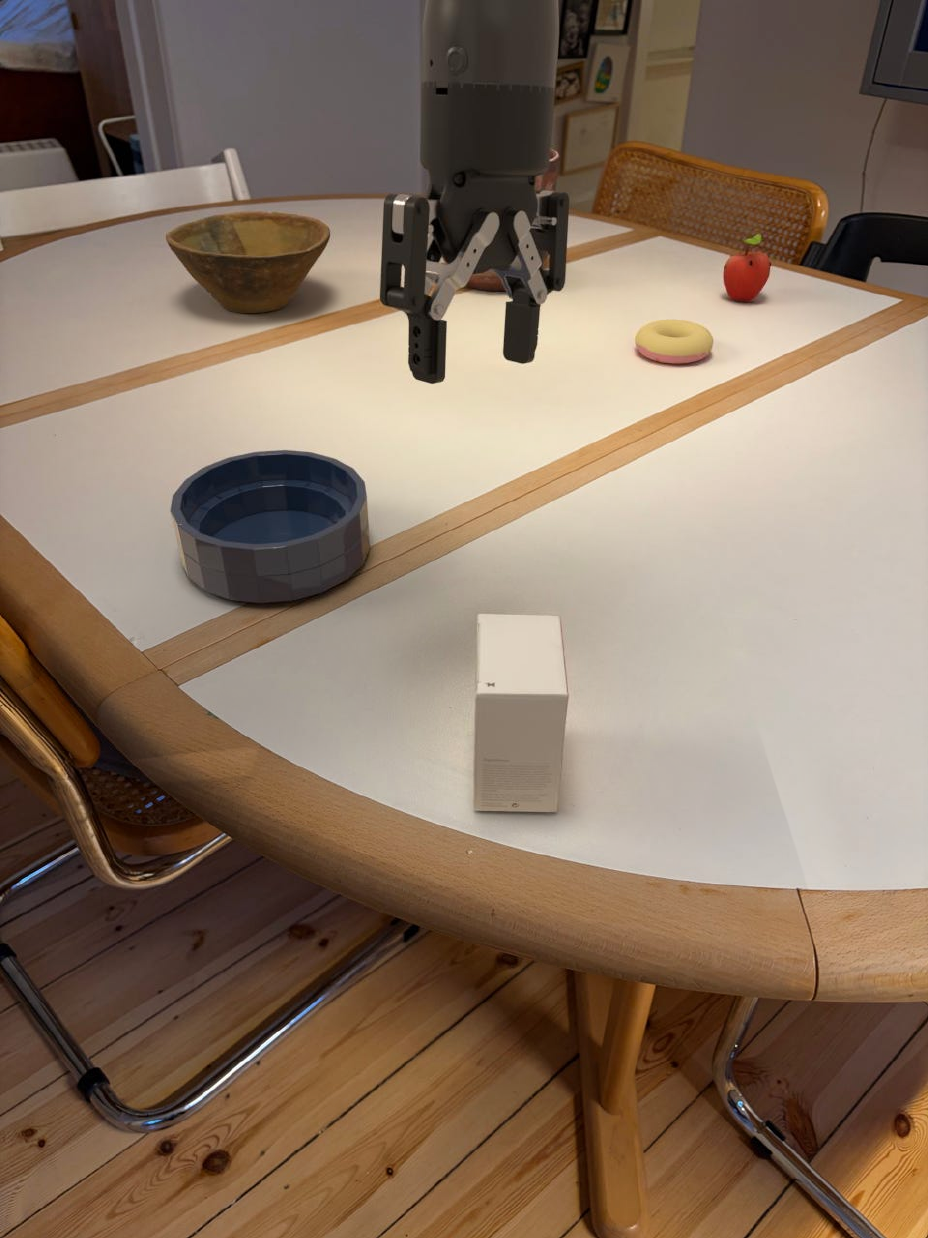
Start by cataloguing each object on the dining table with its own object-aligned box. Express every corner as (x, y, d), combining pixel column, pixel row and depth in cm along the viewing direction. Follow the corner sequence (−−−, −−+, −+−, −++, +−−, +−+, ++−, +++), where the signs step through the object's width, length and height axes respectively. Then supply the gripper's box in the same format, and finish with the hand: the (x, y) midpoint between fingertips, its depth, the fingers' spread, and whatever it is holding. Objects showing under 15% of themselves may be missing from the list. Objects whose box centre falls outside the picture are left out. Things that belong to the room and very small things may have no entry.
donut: (715, 378, 121) (688, 341, 127) (729, 346, 118) (701, 310, 124) (645, 373, 118) (622, 335, 124) (658, 340, 115) (633, 303, 121)
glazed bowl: (175, 616, 77) (162, 556, 73) (190, 511, 90) (179, 456, 86) (376, 599, 79) (373, 540, 75) (362, 499, 92) (359, 444, 88)
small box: (557, 815, 61) (570, 697, 54) (471, 813, 61) (474, 694, 54) (551, 728, 67) (562, 613, 61) (473, 726, 67) (476, 611, 61)
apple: (709, 293, 141) (721, 223, 134) (750, 289, 142) (763, 220, 136) (733, 310, 135) (747, 239, 129) (776, 307, 136) (791, 235, 130)
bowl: (293, 268, 148) (287, 200, 142) (360, 312, 133) (356, 239, 126) (157, 292, 138) (144, 221, 132) (212, 342, 123) (200, 265, 117)
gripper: (519, 85, 59) (503, 346, 67) (347, 70, 50) (351, 375, 57) (617, 87, 55) (588, 366, 62) (448, 70, 45) (438, 401, 53)
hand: (474, 370), depth 60 cm, fingers open, 8 cm apart
